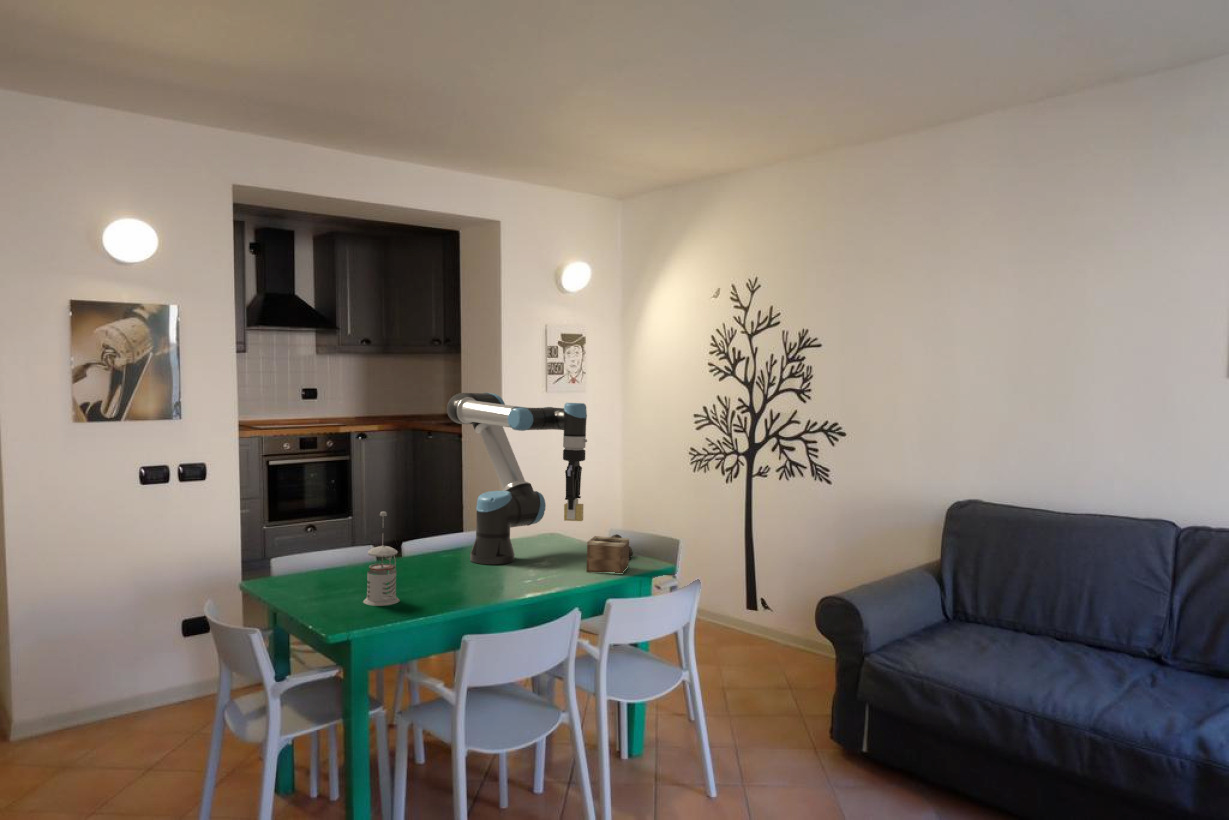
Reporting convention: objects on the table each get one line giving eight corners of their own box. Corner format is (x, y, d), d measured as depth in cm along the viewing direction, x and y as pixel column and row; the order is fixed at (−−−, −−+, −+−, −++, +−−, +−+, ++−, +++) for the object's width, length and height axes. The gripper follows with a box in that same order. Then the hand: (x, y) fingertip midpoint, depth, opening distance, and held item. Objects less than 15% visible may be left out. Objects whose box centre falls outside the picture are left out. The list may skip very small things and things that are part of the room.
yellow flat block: (564, 520, 276) (564, 504, 276) (566, 519, 278) (566, 503, 278) (581, 521, 275) (581, 504, 275) (583, 520, 277) (583, 503, 277)
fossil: (633, 559, 289) (621, 534, 289) (610, 571, 290) (597, 546, 289) (634, 552, 300) (622, 528, 299) (611, 563, 300) (599, 539, 300)
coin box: (586, 572, 271) (587, 542, 270) (593, 565, 281) (594, 536, 281) (622, 575, 268) (623, 544, 268) (628, 567, 279) (629, 538, 279)
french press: (356, 604, 225) (358, 513, 224) (376, 593, 236) (378, 507, 235) (390, 607, 223) (392, 515, 222) (408, 596, 234) (410, 509, 233)
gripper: (579, 451, 268) (577, 522, 268) (590, 447, 283) (588, 515, 284) (557, 449, 269) (555, 521, 270) (569, 446, 284) (567, 514, 285)
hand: (572, 518), depth 277 cm, fingers closed on yellow flat block, 2 cm apart
